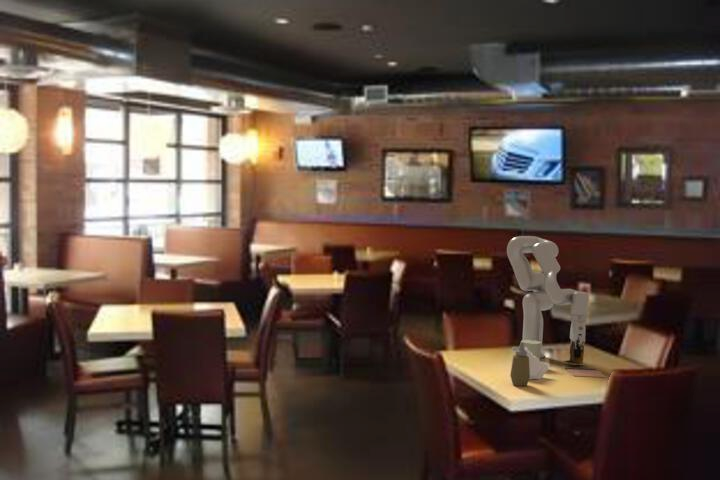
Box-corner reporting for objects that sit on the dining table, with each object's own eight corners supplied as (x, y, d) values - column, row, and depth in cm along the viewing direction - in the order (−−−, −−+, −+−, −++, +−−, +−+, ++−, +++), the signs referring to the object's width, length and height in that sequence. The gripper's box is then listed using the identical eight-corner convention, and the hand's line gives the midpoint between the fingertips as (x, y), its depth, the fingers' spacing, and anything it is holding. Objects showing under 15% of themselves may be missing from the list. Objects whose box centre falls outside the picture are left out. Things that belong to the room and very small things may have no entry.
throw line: (565, 369, 359) (565, 368, 359) (565, 368, 360) (565, 367, 360) (596, 370, 359) (596, 369, 359) (595, 369, 360) (595, 368, 360)
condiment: (586, 363, 367) (589, 338, 366) (574, 365, 362) (576, 339, 361) (574, 360, 373) (576, 335, 372) (562, 361, 368) (564, 336, 367)
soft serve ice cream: (539, 385, 332) (536, 354, 328) (506, 383, 340) (502, 352, 336) (548, 373, 342) (545, 343, 339) (516, 370, 350) (512, 341, 346)
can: (541, 365, 364) (543, 340, 364) (537, 369, 356) (538, 343, 355) (522, 363, 368) (523, 338, 367) (517, 366, 360) (518, 341, 359)
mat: (573, 376, 345) (573, 375, 345) (566, 370, 357) (566, 369, 357) (605, 377, 345) (605, 376, 345) (597, 371, 357) (597, 370, 357)
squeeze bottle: (507, 382, 329) (509, 340, 328) (526, 382, 330) (528, 340, 328) (512, 387, 321) (515, 343, 320) (532, 387, 321) (534, 344, 320)
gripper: (591, 321, 357) (588, 360, 359) (581, 315, 374) (578, 351, 376) (575, 320, 357) (572, 359, 359) (565, 314, 374) (562, 350, 376)
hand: (575, 355), depth 367 cm, fingers closed on condiment, 6 cm apart
